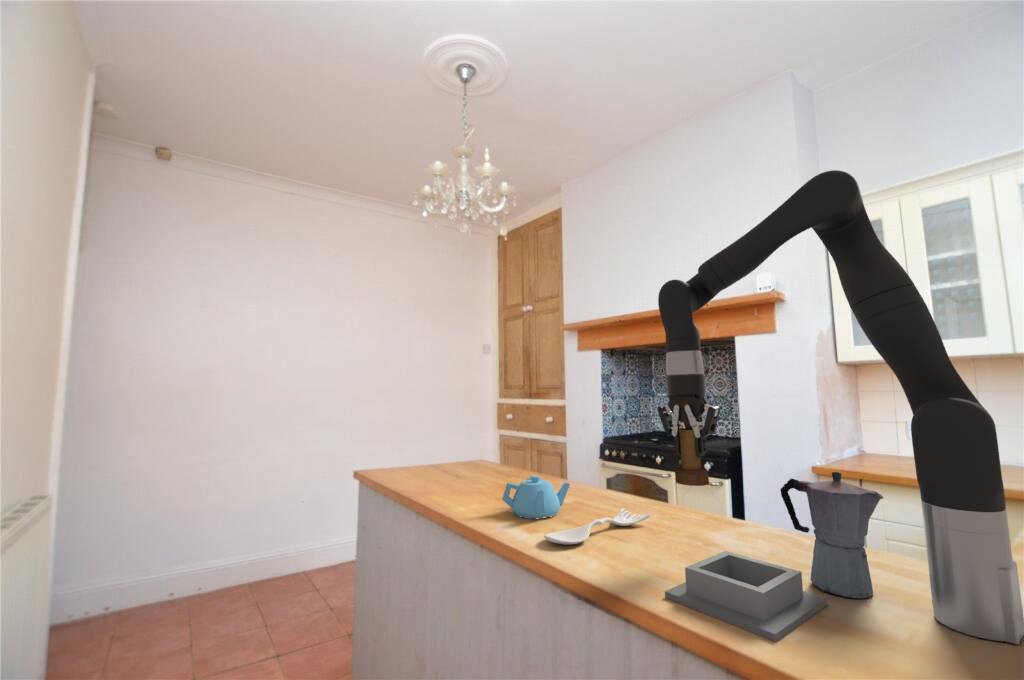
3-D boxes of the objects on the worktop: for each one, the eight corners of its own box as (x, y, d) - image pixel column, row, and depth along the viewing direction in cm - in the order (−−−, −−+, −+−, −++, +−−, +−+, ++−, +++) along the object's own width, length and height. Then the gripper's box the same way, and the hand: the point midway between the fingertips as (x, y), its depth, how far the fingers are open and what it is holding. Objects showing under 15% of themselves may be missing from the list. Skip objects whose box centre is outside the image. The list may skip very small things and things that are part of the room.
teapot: (530, 505, 145) (529, 469, 146) (572, 511, 136) (571, 474, 137) (499, 515, 133) (498, 477, 135) (542, 524, 124) (541, 482, 125)
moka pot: (898, 609, 73) (882, 478, 76) (785, 588, 82) (774, 472, 84) (892, 588, 81) (878, 470, 83) (790, 571, 90) (780, 465, 92)
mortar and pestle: (712, 486, 93) (705, 395, 95) (678, 485, 94) (672, 396, 96) (705, 480, 99) (699, 395, 102) (673, 480, 101) (668, 396, 103)
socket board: (827, 604, 75) (824, 572, 76) (775, 641, 65) (773, 603, 65) (721, 571, 90) (719, 544, 90) (665, 597, 79) (663, 566, 80)
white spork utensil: (651, 526, 121) (650, 512, 122) (563, 554, 102) (562, 537, 102) (624, 519, 128) (623, 506, 129) (536, 544, 109) (535, 528, 109)
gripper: (726, 371, 96) (732, 456, 94) (666, 374, 107) (671, 450, 105) (705, 371, 92) (712, 460, 90) (646, 374, 103) (651, 453, 101)
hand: (690, 454), depth 97 cm, fingers closed on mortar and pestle, 4 cm apart
